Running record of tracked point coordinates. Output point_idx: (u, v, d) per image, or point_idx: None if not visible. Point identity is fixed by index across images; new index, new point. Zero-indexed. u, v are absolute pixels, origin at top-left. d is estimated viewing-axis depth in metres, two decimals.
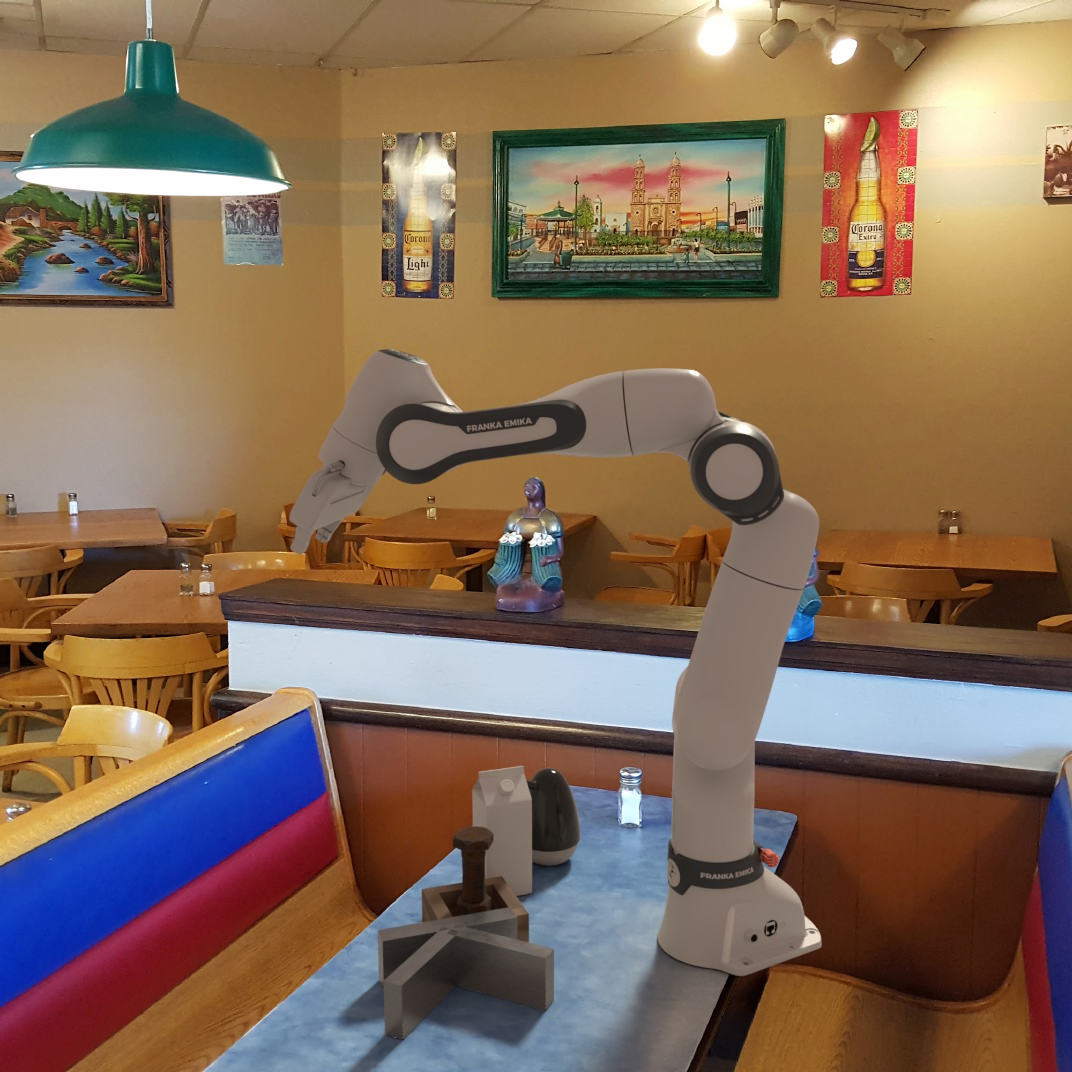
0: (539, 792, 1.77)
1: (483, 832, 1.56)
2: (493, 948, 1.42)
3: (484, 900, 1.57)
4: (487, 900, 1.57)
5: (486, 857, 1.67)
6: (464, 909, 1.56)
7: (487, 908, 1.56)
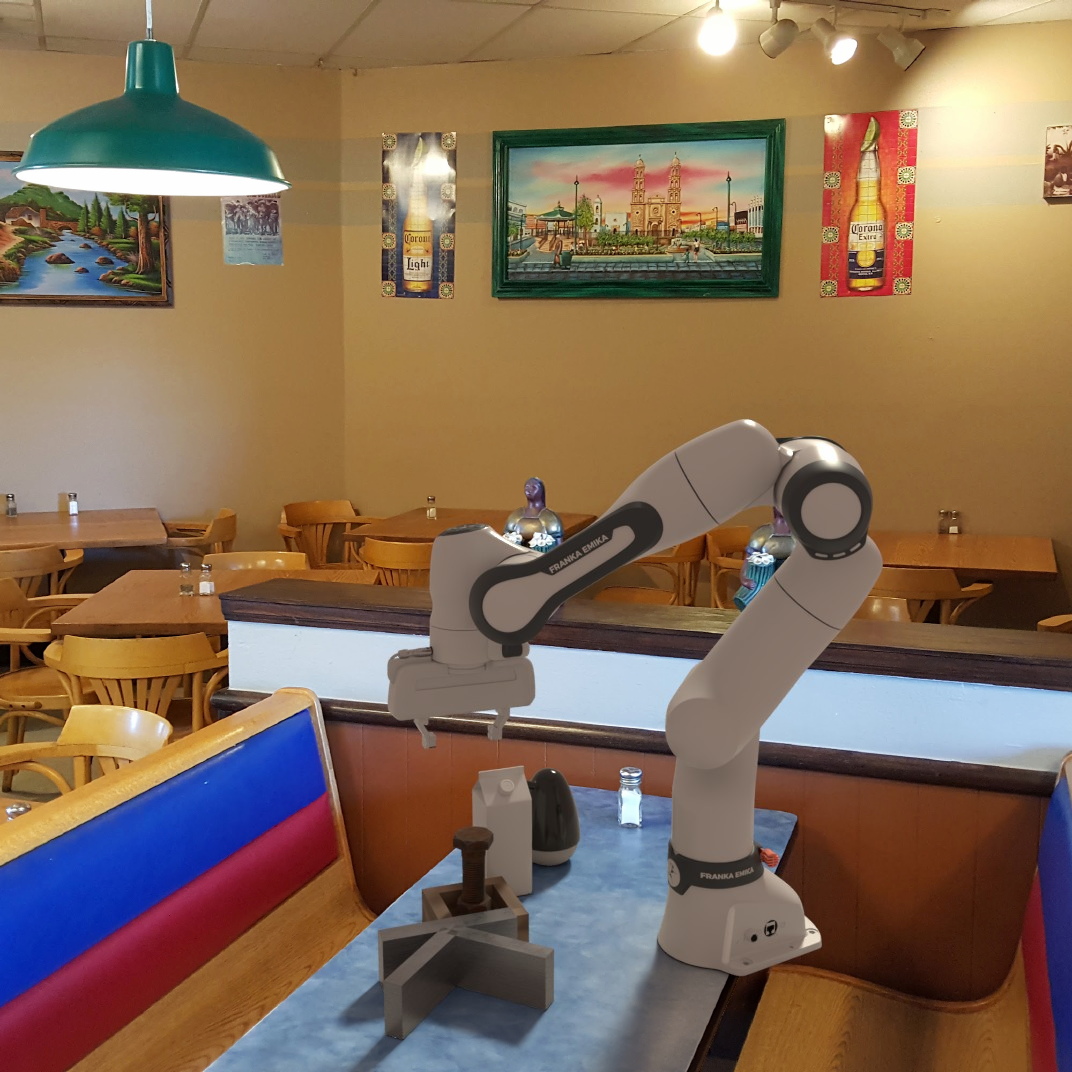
0: (539, 792, 1.77)
1: (483, 832, 1.56)
2: (493, 948, 1.42)
3: (484, 900, 1.57)
4: (487, 900, 1.57)
5: (486, 857, 1.67)
6: (464, 909, 1.56)
7: (487, 908, 1.56)
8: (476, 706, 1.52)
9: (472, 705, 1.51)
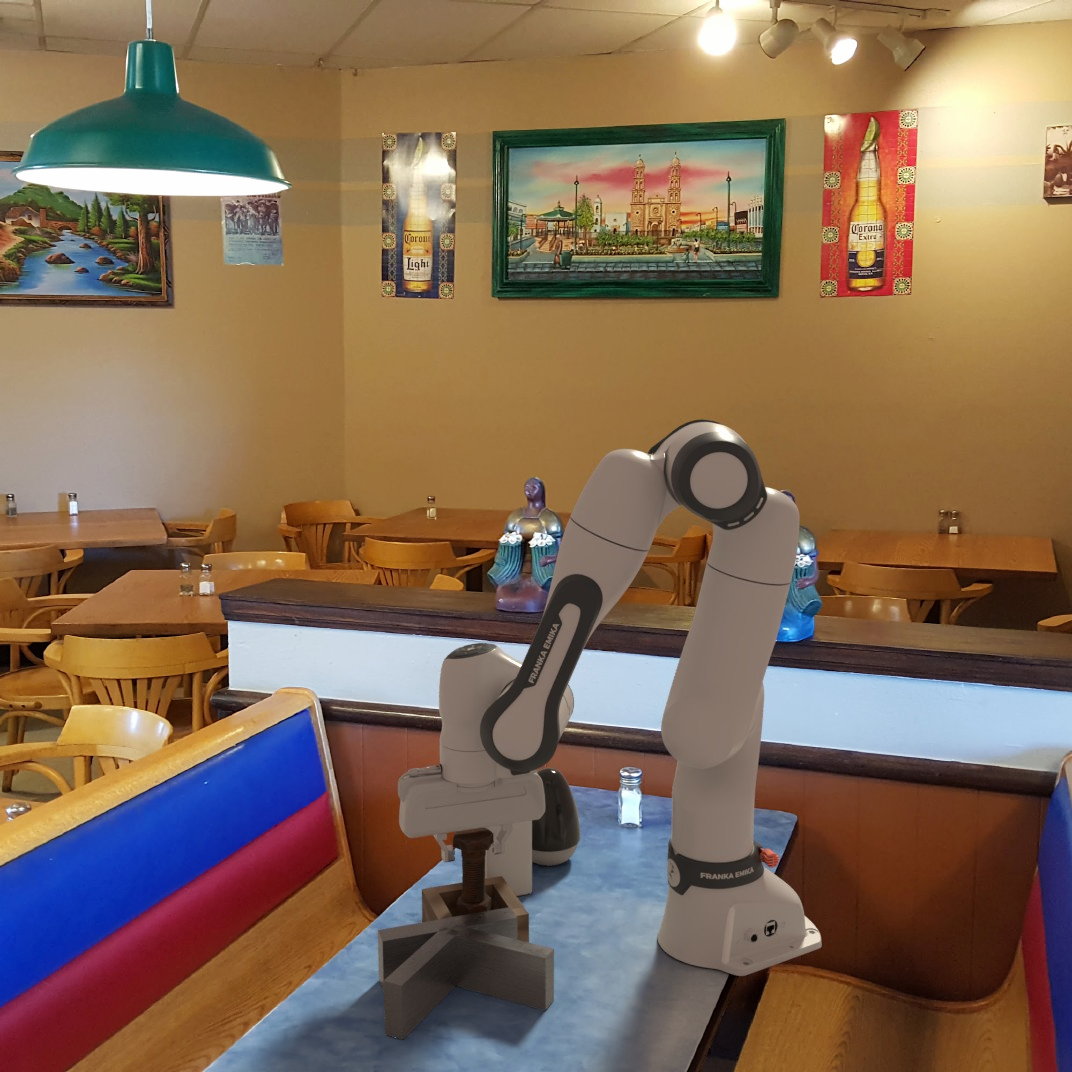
0: None
1: (483, 833, 1.56)
2: (493, 948, 1.42)
3: (484, 900, 1.57)
4: (487, 900, 1.57)
5: (486, 857, 1.67)
6: (464, 909, 1.56)
7: (487, 908, 1.56)
8: (486, 822, 1.54)
9: (482, 821, 1.54)
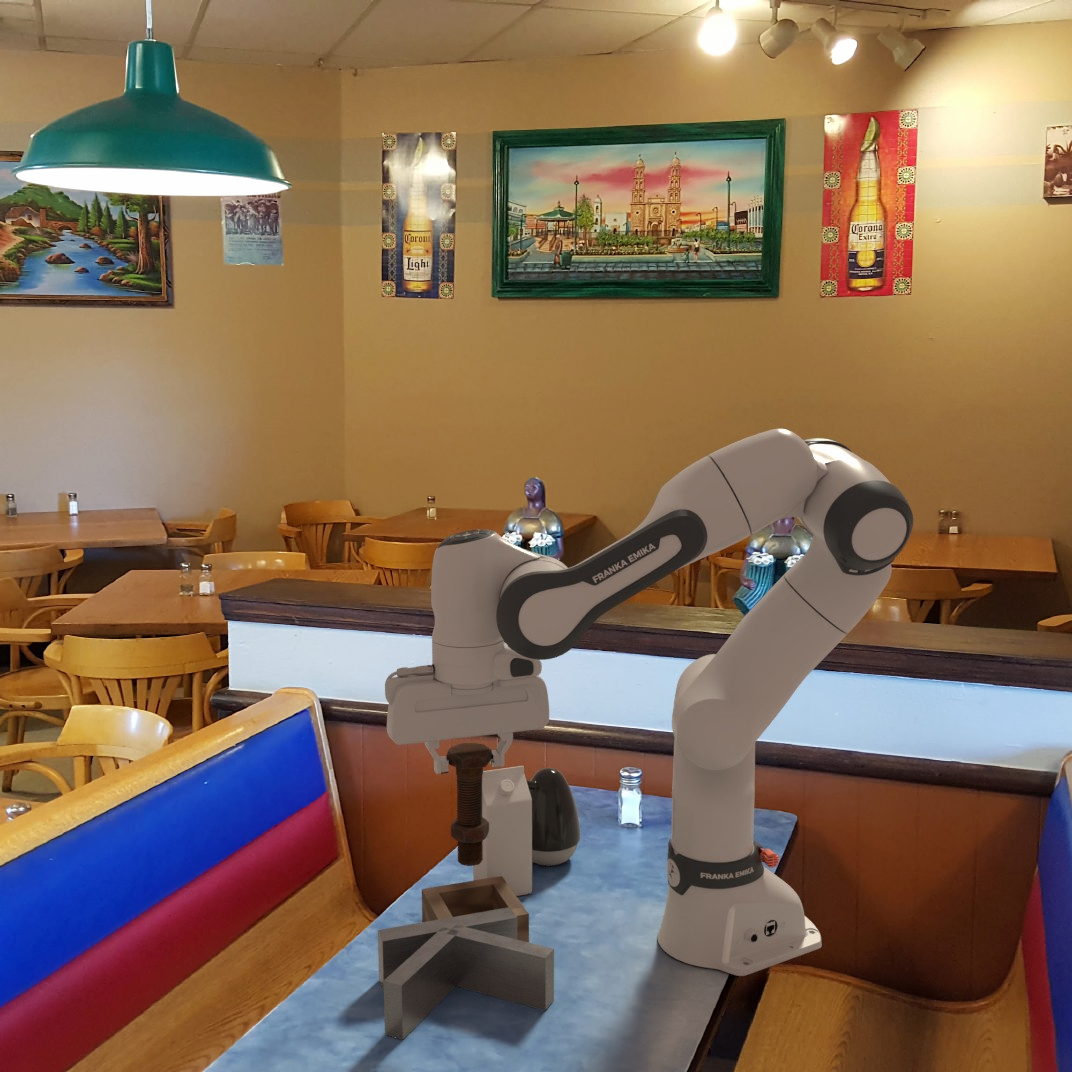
0: (538, 792, 1.77)
1: (480, 749, 1.41)
2: (493, 948, 1.42)
3: (481, 824, 1.42)
4: (484, 824, 1.42)
5: (486, 857, 1.67)
6: (459, 833, 1.41)
7: (484, 832, 1.41)
8: (483, 729, 1.39)
9: (479, 728, 1.39)
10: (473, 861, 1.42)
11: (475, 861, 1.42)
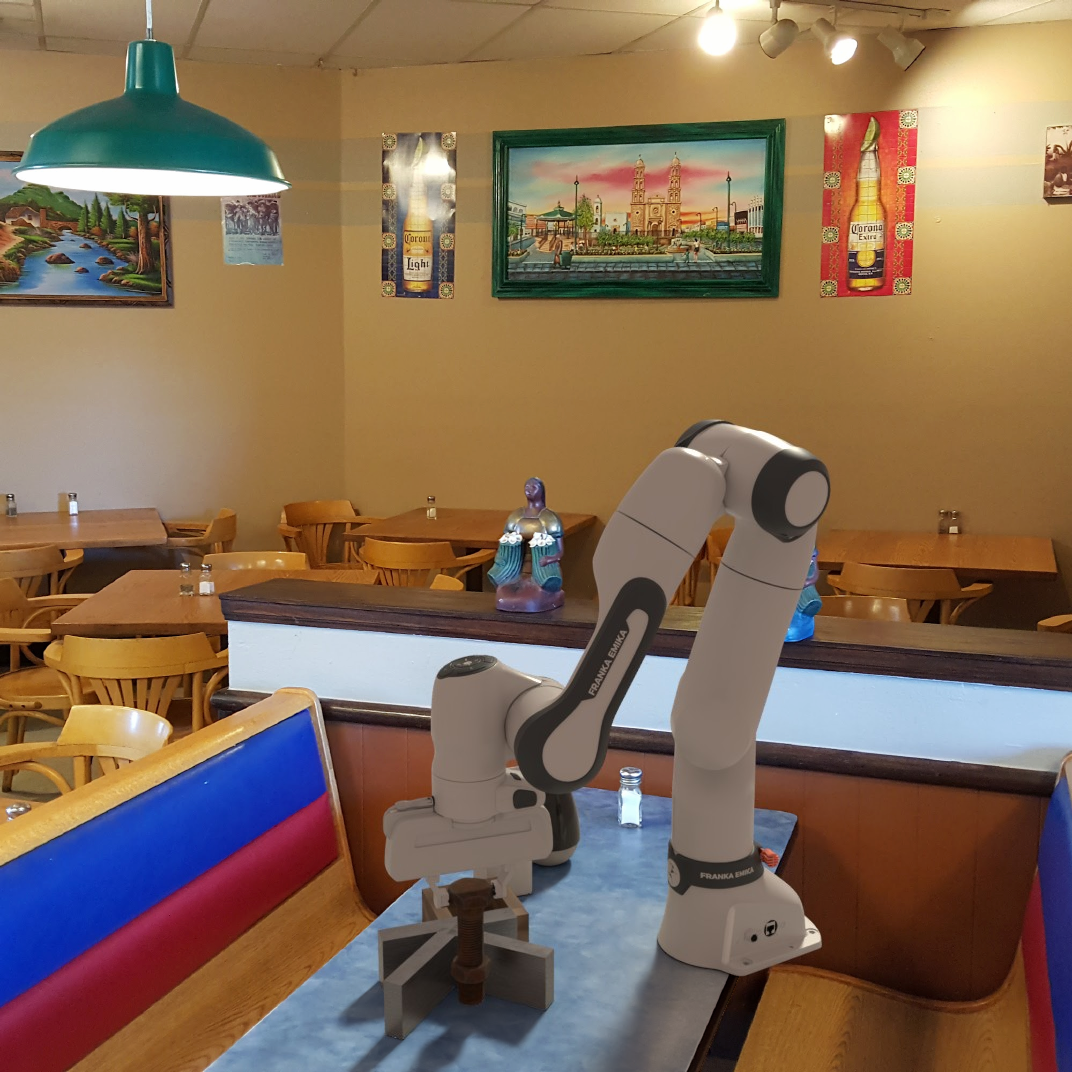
0: None
1: (481, 885, 1.36)
2: (493, 948, 1.42)
3: (482, 963, 1.37)
4: (486, 963, 1.37)
5: None
6: (459, 973, 1.36)
7: (486, 972, 1.36)
8: (485, 862, 1.34)
9: (480, 861, 1.34)
10: (474, 1001, 1.37)
11: (476, 1001, 1.37)
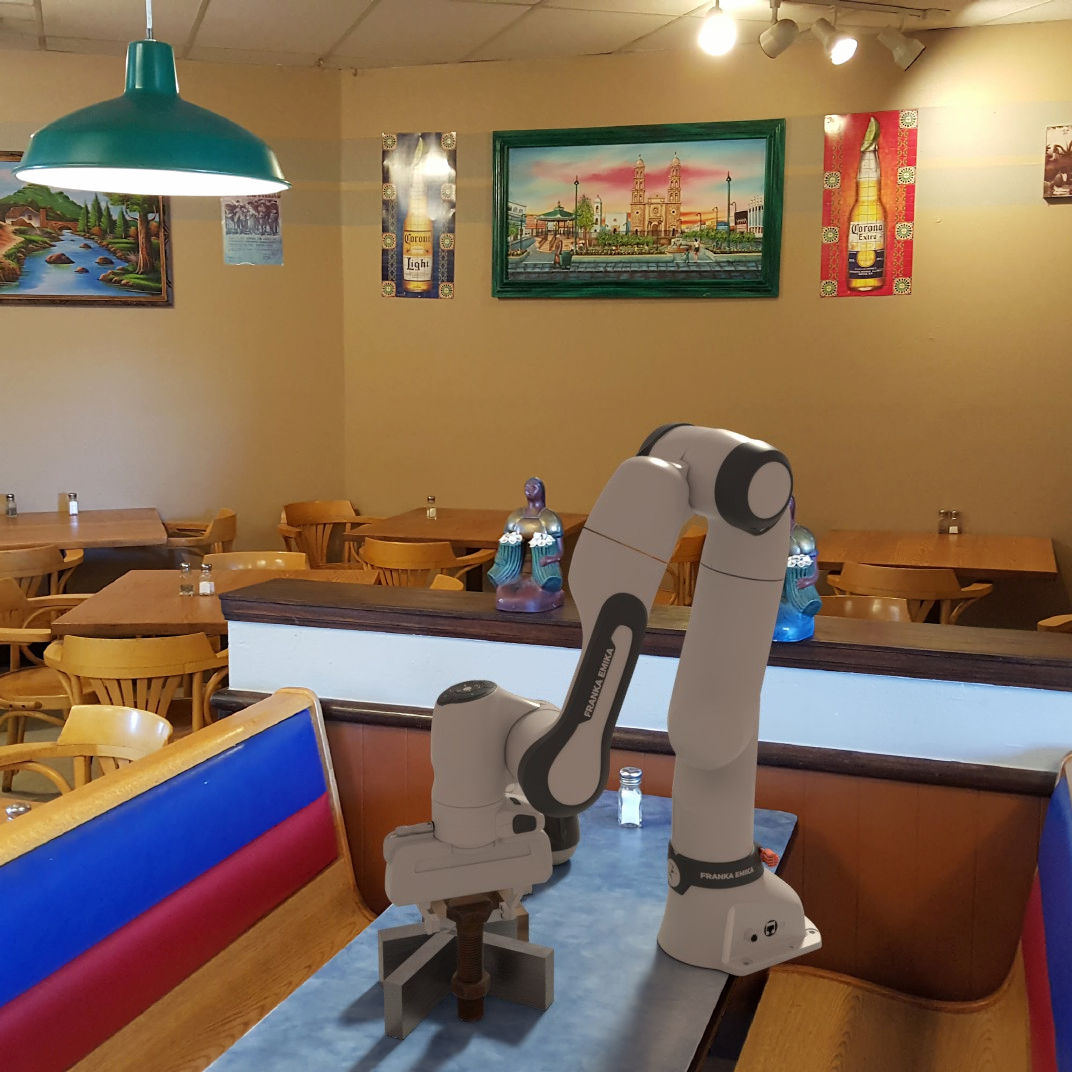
0: None
1: (481, 901, 1.36)
2: (493, 948, 1.42)
3: (482, 978, 1.37)
4: (485, 978, 1.37)
5: None
6: (459, 989, 1.36)
7: (485, 988, 1.37)
8: (485, 886, 1.35)
9: (480, 886, 1.34)
10: (474, 1017, 1.37)
11: (476, 1017, 1.37)
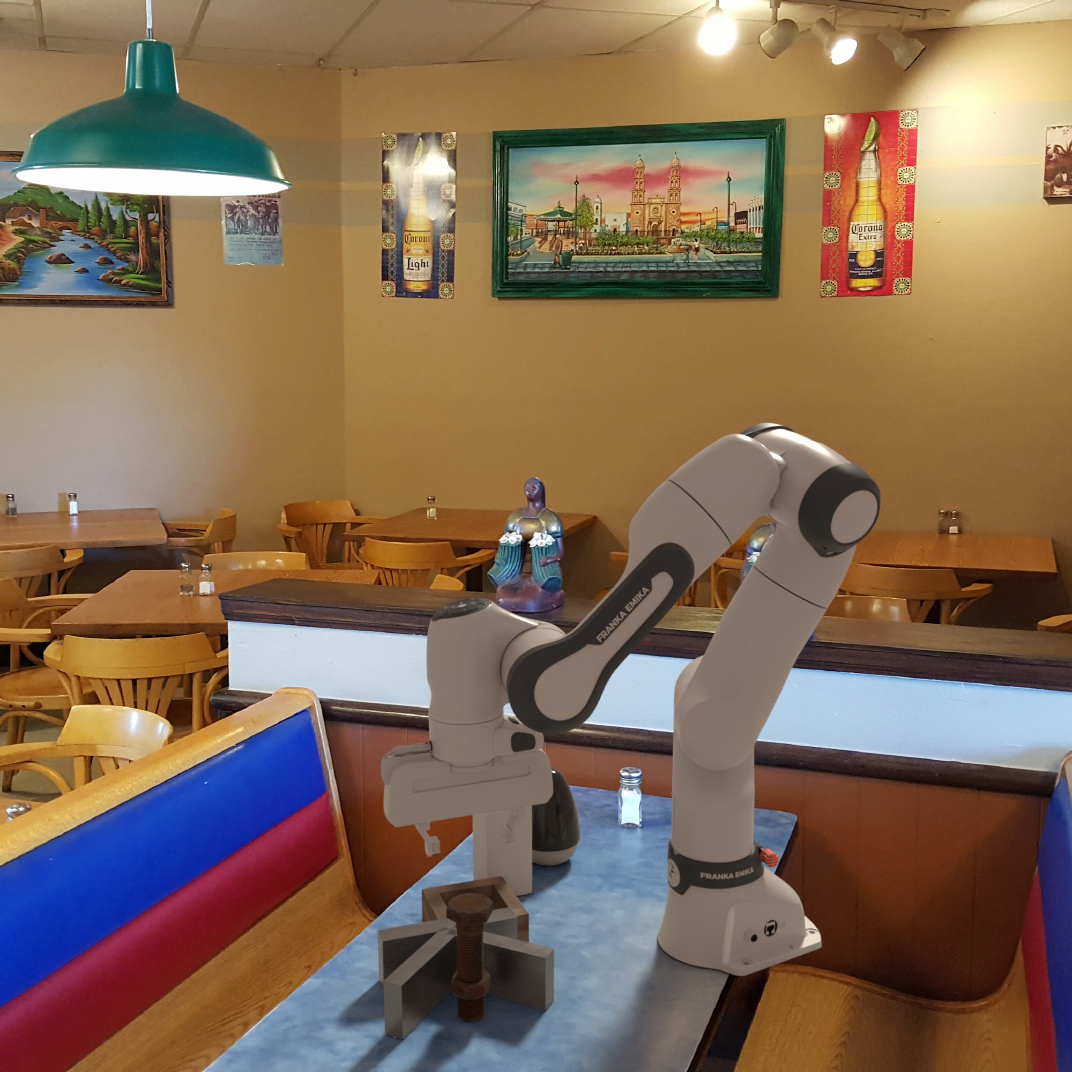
0: None
1: (481, 901, 1.36)
2: (493, 948, 1.42)
3: (482, 978, 1.37)
4: (485, 978, 1.37)
5: (486, 857, 1.67)
6: (459, 989, 1.36)
7: (485, 988, 1.37)
8: (484, 807, 1.33)
9: (480, 806, 1.33)
10: (474, 1017, 1.37)
11: (476, 1017, 1.37)
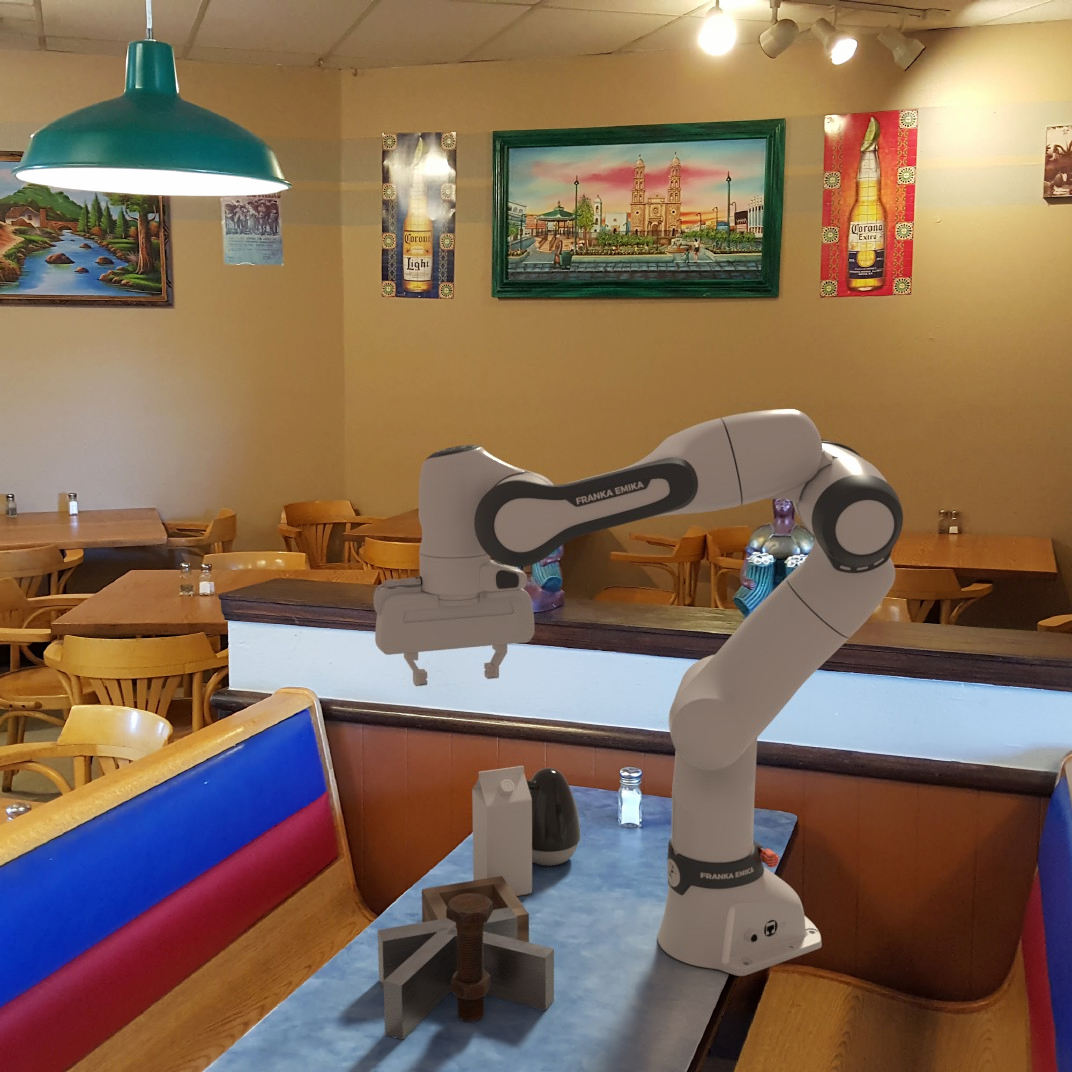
0: (539, 792, 1.77)
1: (481, 902, 1.36)
2: (493, 948, 1.42)
3: (482, 978, 1.37)
4: (485, 978, 1.37)
5: (486, 857, 1.67)
6: (459, 989, 1.36)
7: (485, 988, 1.37)
8: (470, 641, 1.42)
9: (465, 640, 1.42)
10: (474, 1017, 1.37)
11: (476, 1017, 1.37)
